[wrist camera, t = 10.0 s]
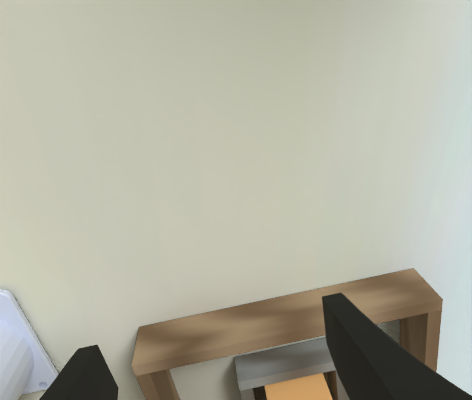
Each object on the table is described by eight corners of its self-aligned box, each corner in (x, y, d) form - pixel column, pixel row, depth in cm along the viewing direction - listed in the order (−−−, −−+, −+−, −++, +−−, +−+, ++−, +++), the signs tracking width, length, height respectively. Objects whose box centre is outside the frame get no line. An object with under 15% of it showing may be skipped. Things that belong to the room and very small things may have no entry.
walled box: (196, 468, 30) (196, 512, 27) (138, 327, 23) (131, 366, 20) (407, 422, 30) (428, 460, 27) (413, 268, 23) (442, 299, 20)
